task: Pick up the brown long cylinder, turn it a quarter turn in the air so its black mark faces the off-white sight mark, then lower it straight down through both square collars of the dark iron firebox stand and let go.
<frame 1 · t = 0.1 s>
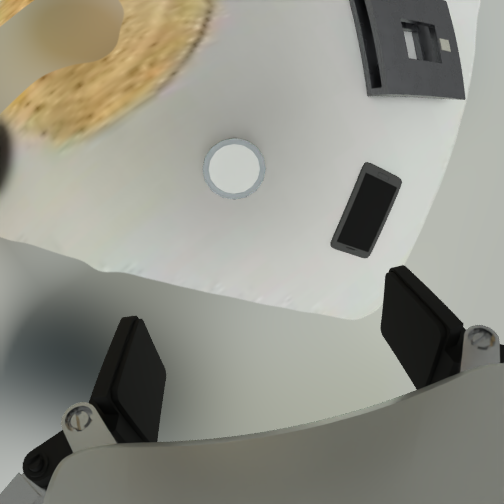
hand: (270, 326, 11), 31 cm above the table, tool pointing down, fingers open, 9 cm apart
firebox: (399, 47, 33), on the table
cell phone: (365, 211, 44), on the table
white cylinder: (232, 161, 39), on the table
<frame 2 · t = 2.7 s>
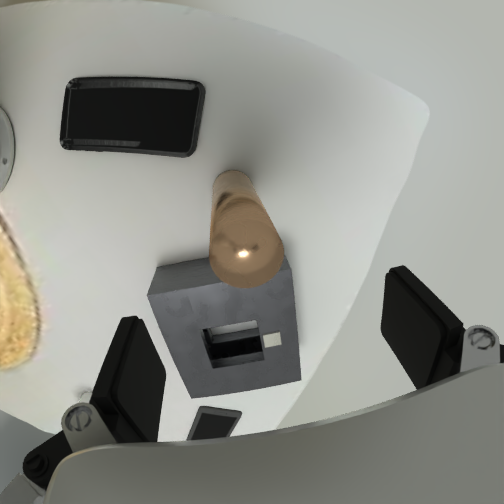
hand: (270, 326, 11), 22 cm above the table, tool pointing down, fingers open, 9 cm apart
firebox: (230, 313, 37), on the table
cell phone: (211, 426, 48), on the table
phone: (129, 114, 27), on the table
brown long cylinder: (232, 189, 31), on the table
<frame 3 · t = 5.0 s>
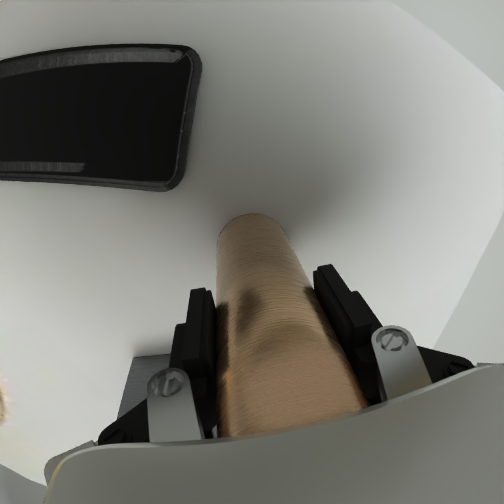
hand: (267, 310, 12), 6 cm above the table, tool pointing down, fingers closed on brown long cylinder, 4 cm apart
firebox: (244, 410, 24), on the table
phone: (69, 115, 14), on the table
brown long cylinder: (252, 247, 18), on the table, touching gripper
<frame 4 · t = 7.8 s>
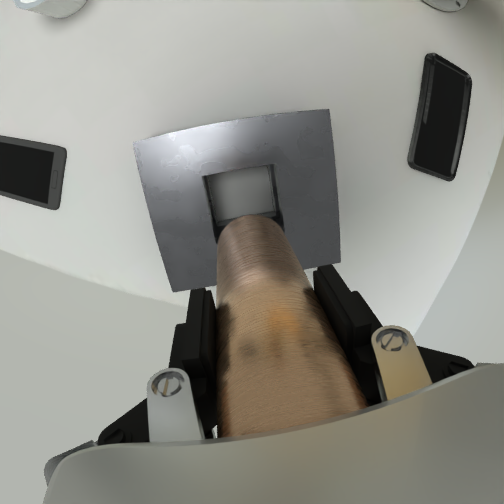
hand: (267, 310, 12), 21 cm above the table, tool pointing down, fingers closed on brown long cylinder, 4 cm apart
firebox: (240, 188, 30), on the table
cell phone: (21, 168, 27), on the table
phone: (438, 116, 29), on the table
brown long cylinder: (252, 247, 18), point 14 cm above the table, touching gripper
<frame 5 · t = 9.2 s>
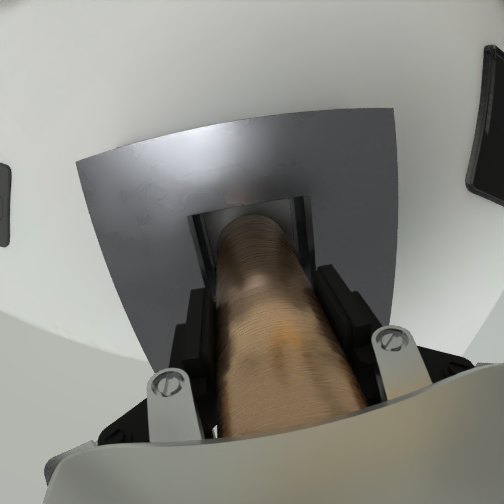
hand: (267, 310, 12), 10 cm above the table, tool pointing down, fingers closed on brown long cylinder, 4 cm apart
firebox: (248, 222, 21), on the table
phone: (497, 125, 19), on the table
brown long cylinder: (252, 248, 18), point 4 cm above the table, touching gripper
when the fingers open (8 cm above the table, at t = 10.4 s): brown long cylinder drops 1 cm, resting in firebox.
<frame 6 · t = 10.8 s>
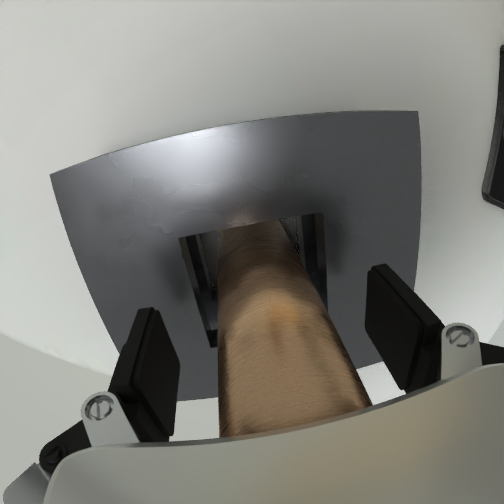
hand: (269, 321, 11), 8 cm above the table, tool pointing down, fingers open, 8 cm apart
firebox: (249, 237, 19), on the table
brown long cylinder: (251, 236, 19), resting in firebox
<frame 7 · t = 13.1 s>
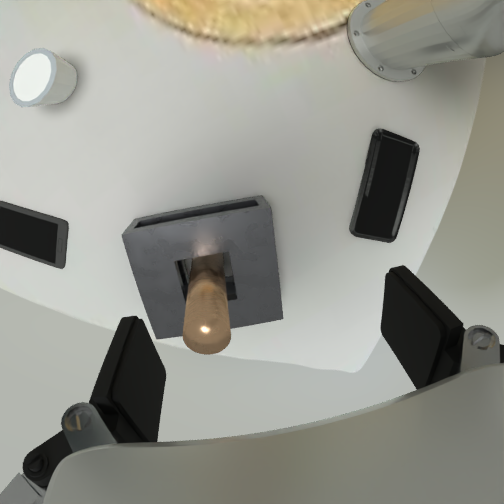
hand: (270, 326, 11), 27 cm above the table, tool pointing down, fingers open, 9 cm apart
firebox: (207, 259, 39), on the table
cell phone: (29, 232, 35), on the table
phone: (382, 186, 39), on the table
brown long cylinder: (207, 258, 39), resting in firebox
white cylinder: (59, 83, 28), on the table
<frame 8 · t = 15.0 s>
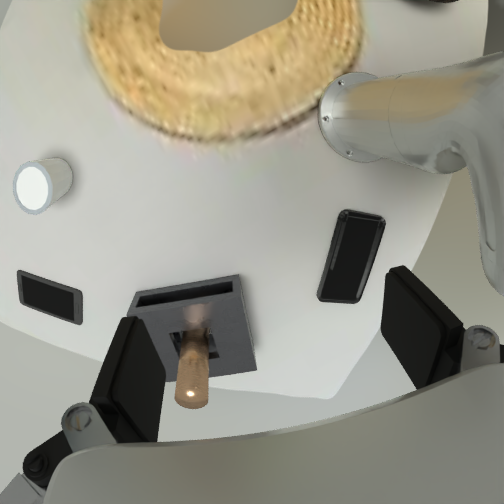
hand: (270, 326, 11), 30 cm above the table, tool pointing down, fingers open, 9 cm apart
firebox: (196, 321, 47), on the table
cell phone: (49, 295, 44), on the table
phone: (348, 257, 46), on the table
brown long cylinder: (197, 320, 47), resting in firebox
white cylinder: (57, 176, 36), on the table
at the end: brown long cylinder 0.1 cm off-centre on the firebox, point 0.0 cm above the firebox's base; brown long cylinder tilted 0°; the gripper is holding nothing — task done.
